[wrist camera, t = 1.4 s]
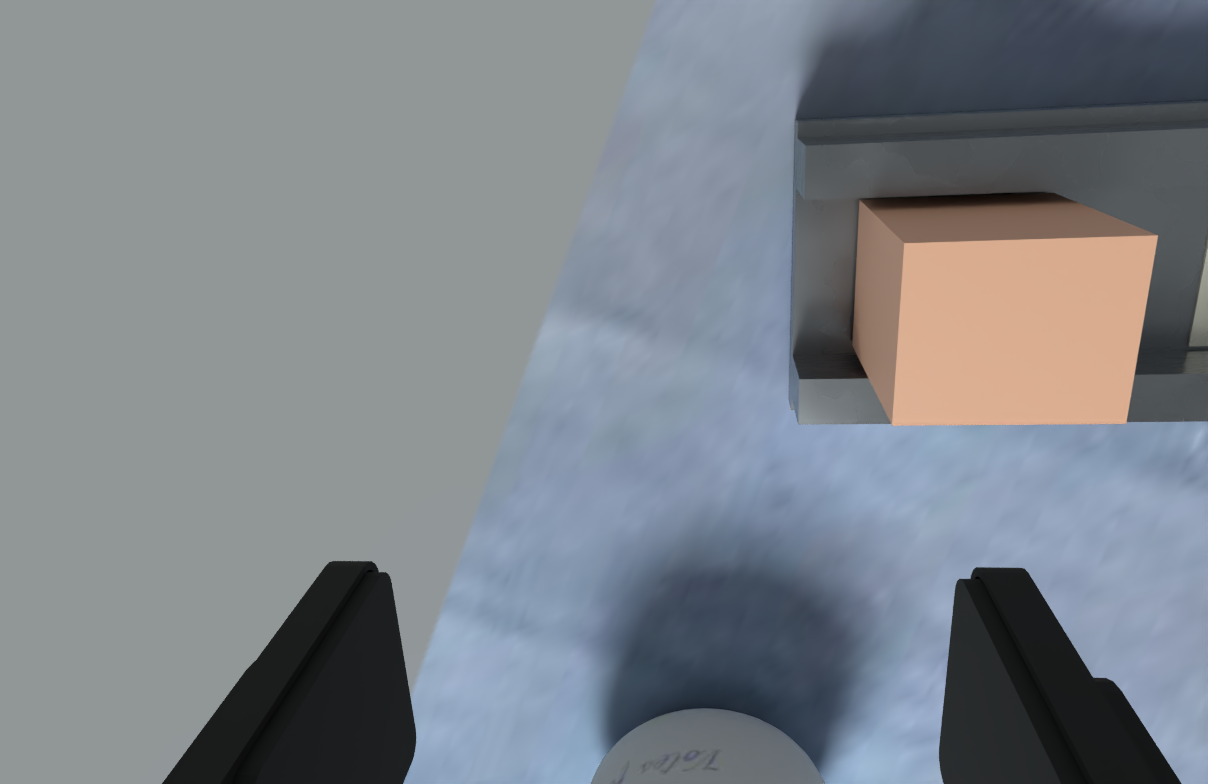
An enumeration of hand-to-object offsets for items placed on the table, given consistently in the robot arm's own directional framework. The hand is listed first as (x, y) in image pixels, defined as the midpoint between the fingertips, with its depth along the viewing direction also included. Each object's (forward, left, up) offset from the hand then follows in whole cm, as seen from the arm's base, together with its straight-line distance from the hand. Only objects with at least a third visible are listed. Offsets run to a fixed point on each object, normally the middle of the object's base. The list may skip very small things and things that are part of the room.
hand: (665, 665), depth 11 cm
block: (-9, 0, -20) cm, 22 cm away
